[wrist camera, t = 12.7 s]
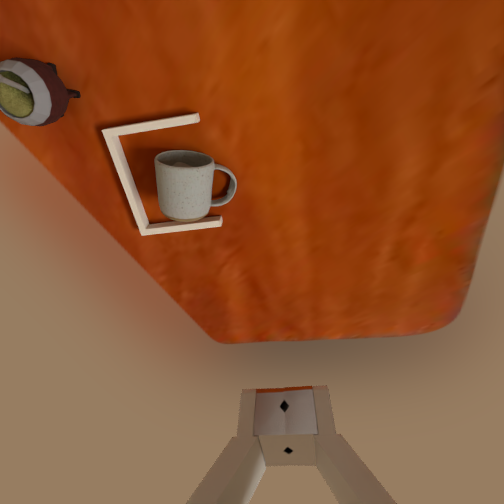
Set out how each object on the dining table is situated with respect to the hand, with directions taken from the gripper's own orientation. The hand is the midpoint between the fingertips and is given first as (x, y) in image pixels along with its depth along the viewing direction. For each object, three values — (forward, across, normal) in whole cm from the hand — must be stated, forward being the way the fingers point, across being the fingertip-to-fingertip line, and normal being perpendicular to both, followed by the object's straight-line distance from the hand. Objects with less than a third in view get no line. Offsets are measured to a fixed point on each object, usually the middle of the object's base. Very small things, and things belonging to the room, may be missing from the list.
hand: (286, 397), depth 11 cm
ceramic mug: (+37, +12, +2) cm, 39 cm away
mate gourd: (+37, +27, -12) cm, 48 cm away
